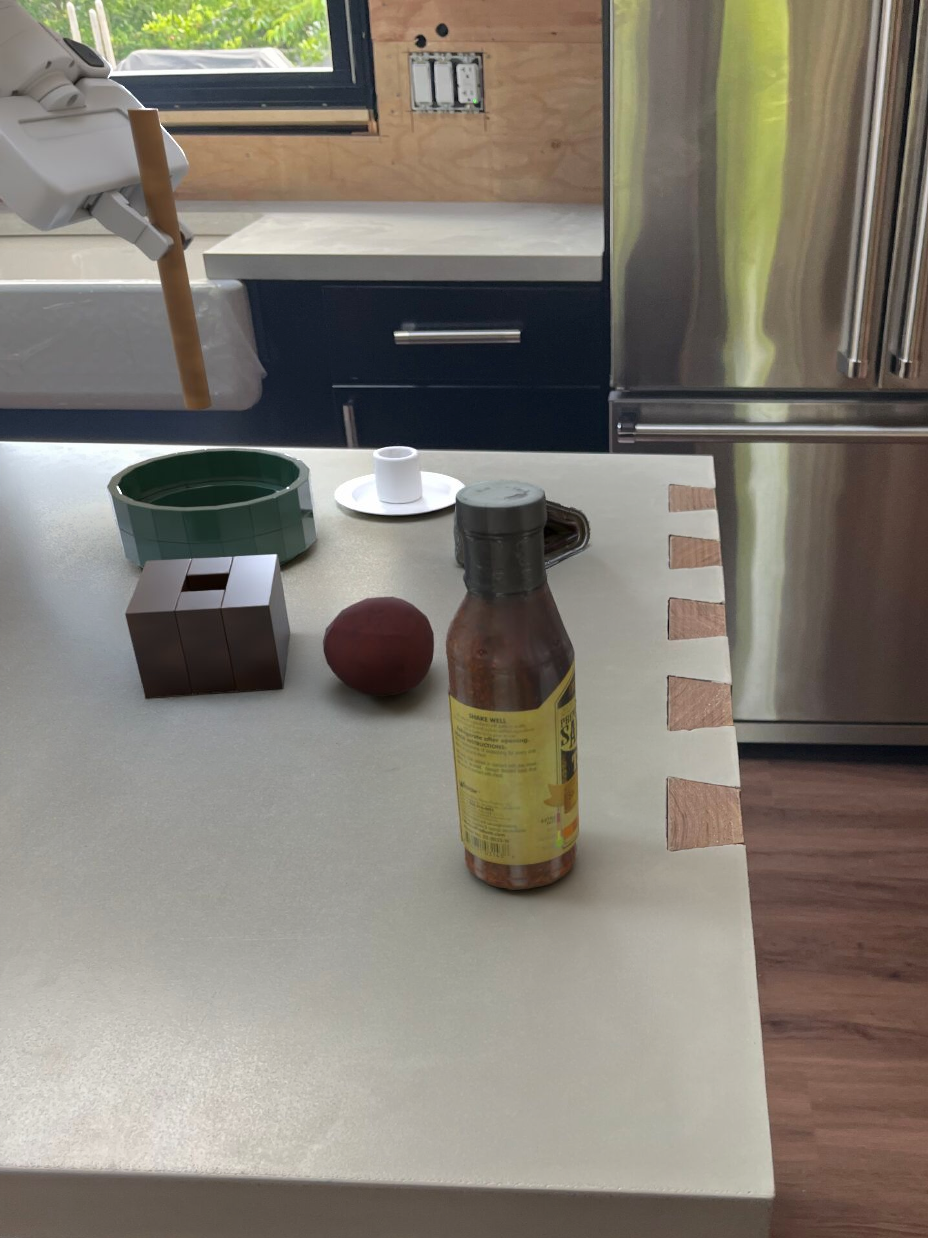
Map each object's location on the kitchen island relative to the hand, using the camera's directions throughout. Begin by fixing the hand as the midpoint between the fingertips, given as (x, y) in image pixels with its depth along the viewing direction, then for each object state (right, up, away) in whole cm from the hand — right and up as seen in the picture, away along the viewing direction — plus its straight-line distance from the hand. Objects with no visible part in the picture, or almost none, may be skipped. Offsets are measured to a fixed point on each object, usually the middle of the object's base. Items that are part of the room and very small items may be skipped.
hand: (176, 249), depth 86 cm
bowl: (-1, -19, +13) cm, 23 cm away
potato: (+17, -33, -7) cm, 38 cm away
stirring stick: (-1, -9, +6) cm, 11 cm away
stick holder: (+5, -31, -5) cm, 32 cm away
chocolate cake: (+24, -20, +12) cm, 33 cm away
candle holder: (+12, -12, +23) cm, 29 cm away
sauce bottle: (+27, -44, -23) cm, 57 cm away
